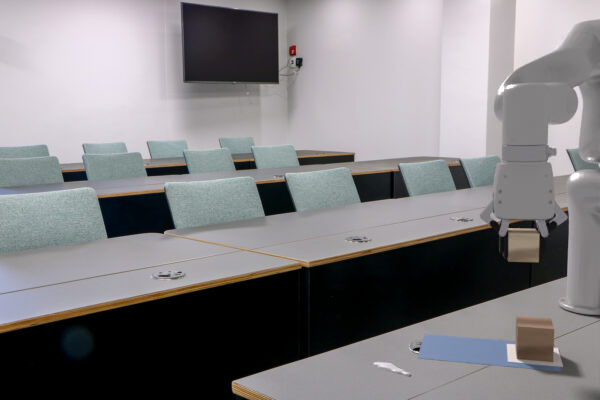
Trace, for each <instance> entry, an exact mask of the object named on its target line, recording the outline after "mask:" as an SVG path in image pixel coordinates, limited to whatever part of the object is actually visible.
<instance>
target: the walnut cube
mask: <svg viewBox="0 0 600 400" xmlns="http://www.w3.org/2000/svg"><path fill="white" fill-rule="evenodd" d="M515 341H516V342H515V348H516V356H517V359H521V360H533V361H545V362H553V354H554V347H555V327H554V323H553V321H552V318H549V317H548V318H547V317H535V316H522V315H521V316H520V315H516V317H515Z"/></svg>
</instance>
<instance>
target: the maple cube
mask: <svg viewBox="0 0 600 400" xmlns="http://www.w3.org/2000/svg"><path fill="white" fill-rule="evenodd" d="M539 235H540V234H539V233H538V230H537V229H536V228H520V227H518V228H515V227H514V228H510V227H508V229H507V236H508V258H507V262H508V263H509V262H510V263H513V262H515V263H516V262H517V263H539V262H540V259H539Z"/></svg>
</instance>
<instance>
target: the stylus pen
mask: <svg viewBox="0 0 600 400" xmlns="http://www.w3.org/2000/svg"><path fill="white" fill-rule="evenodd" d="M373 365H374V366H377V367H378V368H379V369H382V370H383V371H388V372H392V373H395V374H396V373H397V374H401V375H403V376H407V377H409V376H411V375H412V373H411V372H407V371H405V370H404V369H402V368H399V367H397V366H396V365H394V364H393V363H390V362H381V361H376V362H373Z"/></svg>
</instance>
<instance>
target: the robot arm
mask: <svg viewBox="0 0 600 400" xmlns="http://www.w3.org/2000/svg"><path fill="white" fill-rule="evenodd" d="M576 87H578V89H579V91H580V95H581V99H582V111H581V112H582V113H581V121H580V128H579V137H578V155H579V157H580V159H581V160H582V161H584V162H586V163H589V164H597V165H598V164H599V165H600V18H599V19H589V20H585V21H580V22H578V23H576V24H574V25H573V26H572V27H570V28H569V29H568V30H567V32H566V33H565V34H564V35H563V37H562V38H561V40H560V41H559V42H558V43H557V44H556V46H555V47H554V49H553V50H552V51H551V52H549V53H547V54H545V55H542V56H540V57H538V58H537V59H536V58H535V59H534V60H532V61H530V62H528V63H525V64H524V65H523V64H522V66H519V67H517V68H516V69H515V70H513V71H512V72H511V73H510V74H509V75H508V76H507V78H506V79H504V81H503V82H502V83H501V85H500V86H499V88H498V89H497V92H496V94H495V96H494V101H493V111H494V114H495V117H496V118H497V120H498V121H499V122H501V124H502V125H501V127H502V128H501V129H502V130H501V161H500V162H497V163H496V165H495V169H494V170H495V171H494V177H493V185H492V200H491V201H489V203H488V204H487V205H486V206H485V208H484V209H482V211H481V213H479V218H480V219H481V220H483V222H485V223H486V224H487V225H489V226H490V228H492V229H493V230H494V231H495V232H496V234H498V235H499V237H498V238H499V239H498V245H499V246H498V250H499V251H498V252H499V254H502V257H503V259H504V260H505V259H507V258H508V236H507V229H508V228H509V225H510V223H511V221H535V223H536V227H537V229H538V230H537V232H538V233H539V234H540V235H539V260H542V259H543V255H546V248H547V246H546V245H547V237H548V236H549V234H551V232H553V231H554V230H555V229H556V228H557V227H559V226H560V225H561V224H562V223H564V222H565V221H567V220H568V242H567V243H568V245H567V247H568V248H567V270H566V271H567V273H566V275H567V276H566V295H564V296H562V297H560V298H559V300H558V305H559V306H560V307H561V308H562V309H563V310H566V311H569V312H571V313H576V314H582V315H590V316H600V169H597V168H596V169H595V168H590V169H588V168H587V169H580V170H577V171H575V172H573V173H572V174H571V175H569V177H568V178H567V180H566V183H565V196H566V201H567V202H566V203H567V209H568V215H567V213H565V211H564V210H563V209H562V208H561V206H560V205H559V204H558V202H557V201H556V199H555V198H556V197H555V196H556V195H555V182H554V181H555V180H554V172H553V171H554V170H553V166H552V163H551V162H548V161H549V159H550V158H551V157H556V156H557V153H558V152H557V151H558V150H557V148H555V147H554V148H552V147H550V146H549V144H548V143H549V126H551V125H554V126H555V125H562V124H565V123H567V122H569V121H570V120H572V119H573V117H574V116H575V115H576V113H577V111H578V108H579V97H578V94H577V91H576V90H575V89H574V88H576ZM492 213H493V214H494V217H495V218H497V219H498V220H500V221H499V222H498V221H497V220H495V219H494V218H493V217H492V216H491V215H492ZM547 220H548V221H547ZM546 221H547V222H546ZM507 260H508V259H507Z"/></svg>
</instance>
